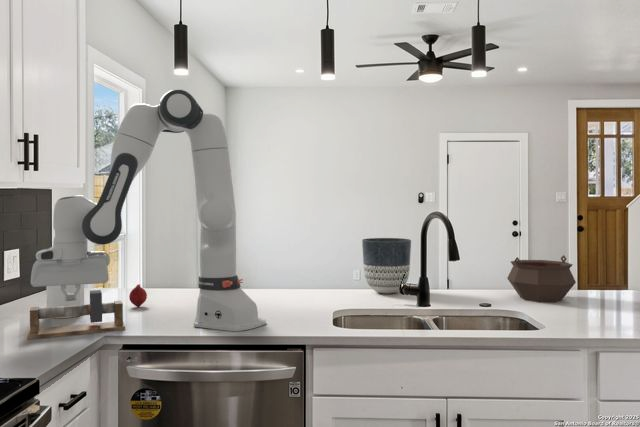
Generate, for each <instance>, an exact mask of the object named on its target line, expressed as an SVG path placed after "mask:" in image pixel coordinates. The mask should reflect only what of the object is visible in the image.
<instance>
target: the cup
mask: <svg viewBox="0 0 640 427" xmlns="http://www.w3.org/2000/svg"><path fill="white" fill-rule="evenodd" d="M45 287H46V308H48V307H61V306H74V305H85V284H80V290H79V292H78V293H77V294H76V300H75V301H65V295H64V293H63V292H62V290H61V285H60V286H45ZM76 289H77V288H75V285H66V289H65V290H66V292H67V294H74V292H75V291H76ZM77 317H78V316H70V317H58V318H53V319H57V320H58V319H70V318H77Z"/></svg>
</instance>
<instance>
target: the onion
mask: <svg viewBox="0 0 640 427" xmlns="http://www.w3.org/2000/svg"><path fill="white" fill-rule="evenodd" d="M147 298H148V294H147V291H146V290H145V289H144V288H143V287H141V284H140V283H138V284H136V286H135V287H134V288H133V289H132V290H131V291H130V293H129V299H128V300H129V301H130V303H131V304H132V305H134V306H135V307H137V308H139V307H141V306H142V305H143V304H145V302H146V300H147Z"/></svg>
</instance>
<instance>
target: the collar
mask: <svg viewBox="0 0 640 427" xmlns="http://www.w3.org/2000/svg"><path fill="white" fill-rule="evenodd" d="M102 303H103V292H102V291H101V289H93V290H89V304H90V306H91V315H89V320H90V323H103V314H102Z"/></svg>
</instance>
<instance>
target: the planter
mask: <svg viewBox="0 0 640 427" xmlns="http://www.w3.org/2000/svg"><path fill="white" fill-rule="evenodd" d="M361 243H362V260H363V261H362V263H363V273H364V277H365V281H366V283H367V284H368V286H369V287H370V288H371V289H372V290H373V291H374V292H376V293H380V294H384V295H385V294H386V295H387V294H388V295H389V294H395V293H397V292H399V291H400V290H399V287H400V284H401V281H402V278H403V275H404V274H405V277H404V279H403V282H402V284H403V285H404V284H405V285H406V284H407V283H408V281H409V276H410V270H411V251H412V240H411V239H410V238H400V237H398V238H397V237H396V238H395V237H373V238H372V237H370V238H369V237H368V238H363V239H362V240H361ZM405 272H406V273H405Z"/></svg>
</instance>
